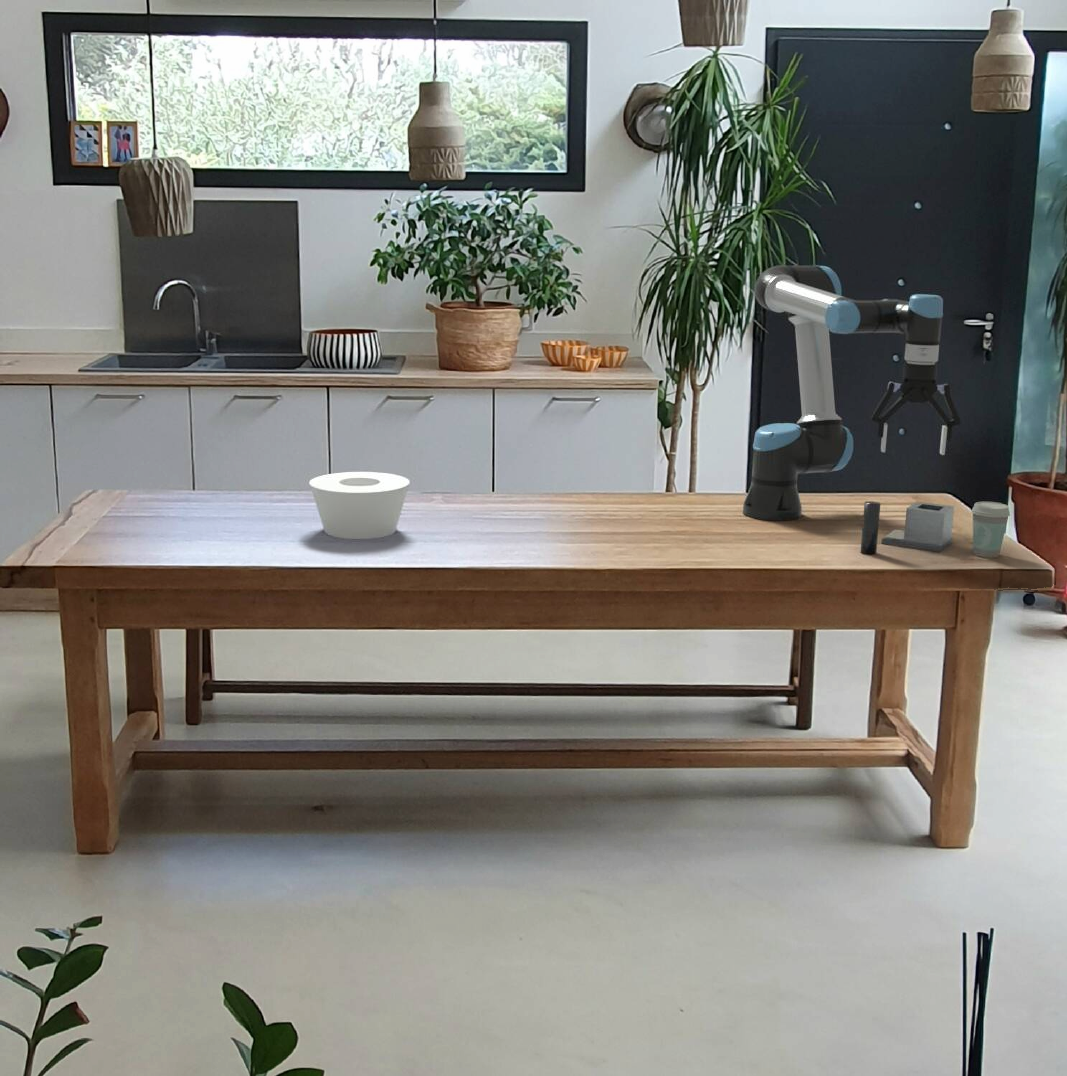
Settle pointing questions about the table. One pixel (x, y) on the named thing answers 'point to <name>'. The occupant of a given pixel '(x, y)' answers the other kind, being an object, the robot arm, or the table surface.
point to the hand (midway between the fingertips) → (912, 452)
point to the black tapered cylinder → (870, 528)
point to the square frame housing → (924, 528)
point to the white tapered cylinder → (359, 503)
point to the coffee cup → (989, 528)
